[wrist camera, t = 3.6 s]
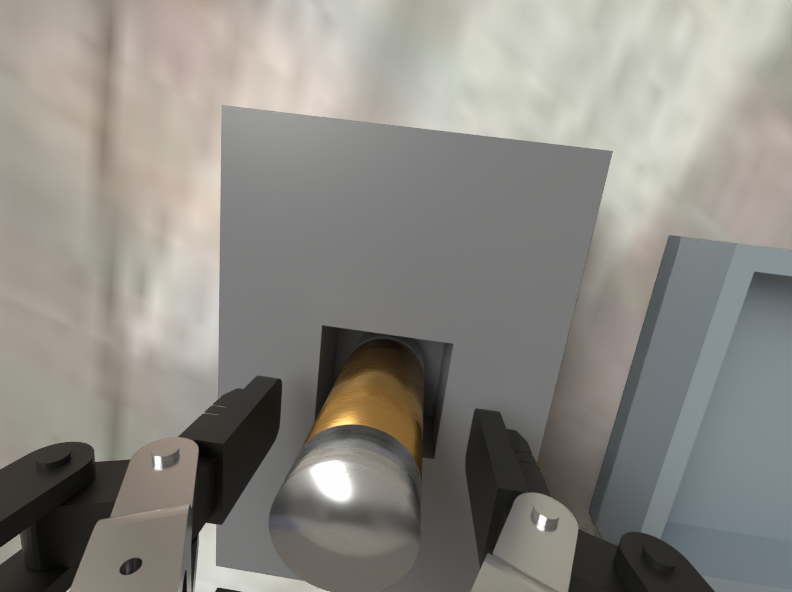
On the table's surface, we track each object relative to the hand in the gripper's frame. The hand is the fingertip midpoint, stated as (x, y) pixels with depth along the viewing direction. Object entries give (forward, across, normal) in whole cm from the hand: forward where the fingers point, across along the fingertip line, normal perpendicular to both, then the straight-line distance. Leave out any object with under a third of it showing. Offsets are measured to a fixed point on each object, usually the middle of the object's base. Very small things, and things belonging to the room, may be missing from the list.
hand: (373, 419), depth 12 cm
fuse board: (+6, 0, 0) cm, 6 cm away
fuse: (+5, 0, 0) cm, 5 cm away
